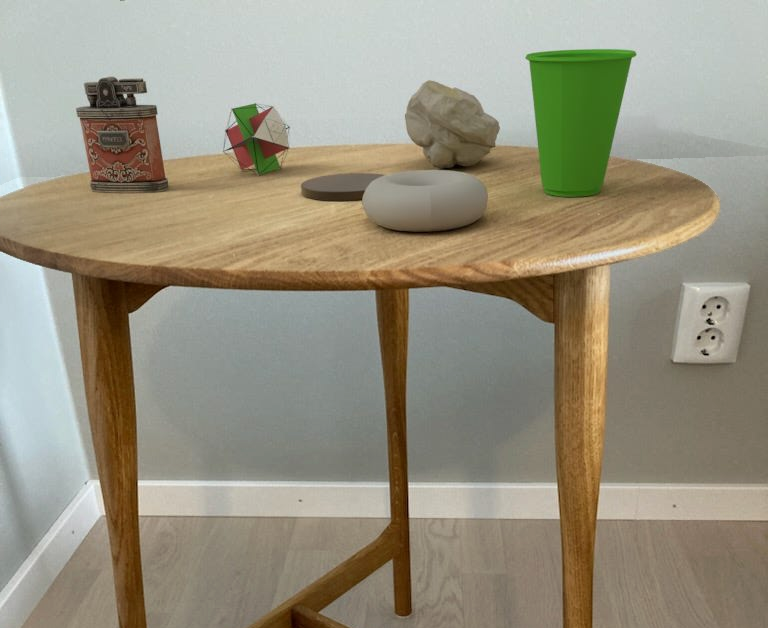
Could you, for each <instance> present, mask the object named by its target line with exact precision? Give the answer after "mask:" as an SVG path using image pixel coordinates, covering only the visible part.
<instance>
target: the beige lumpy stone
mask: <svg viewBox="0 0 768 628" xmlns="http://www.w3.org/2000/svg"><path fill="white" fill-rule="evenodd" d="M405 112H406V113H405V114H404V120H405V129H406V132H407V135H408V138H410V140H411V142H412V143H414V144H415V145H416V146H418V147H421V148H422V154H423V156H424V157H425V159H428V161H429V162H430V164H431V165H432V166H434V167H437V168H439V169H444V168H446V169H451V168H453V167H454V166H455V165H458V166H461V167H471V166H474V165H476V164H478V163H479V162H480V161H481V160H483V158H484V157H486V156H487V155H489V154H490V153H491V150H492V149H494V148H496V146H497V145H496V140H497V138H498V134H499V132H500V129H501V127H500V122H499V121H498V120H497V119H496V118H495V117H494V116H492V115H490V114H488V113H487V112H485V110H484V108H483V105H482V104H481V102H480V100H479V99H478V98H477V97H476V96H475V95H474V94H471V93H469V92H467V91H465V90H462V89H460V88H459V87H453V88H452V87H449V86H448V85H445V84H442V83H440V82H439V81H438V82H437V81H435V80H431V79H430V80H427V81H425V82H423V83H422V84H421V85H420V86H419V88H418V90H417V91H416V92H415V93H413V94H412V95H411V97H410V99H409V100H408V103H407V105H406V111H405Z"/></svg>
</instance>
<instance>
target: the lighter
mask: <svg viewBox="0 0 768 628" xmlns="http://www.w3.org/2000/svg"><path fill="white" fill-rule="evenodd" d="M83 87H84V88H83V89H84V93H85V95H86V98H87V101H88V103H89V105H87V106H86V105H84V106H79V107H75V111H76V116H77V118H78V119H79V122H80V127H81V131H82V136H83V142H84V143H83V144H84V148H85V153H86V158H87V164H88V169H89V175H90V180H89V183H90V188H91V191H92V192H98V193H99V192H100V193H121V194H122V193H157V192H164V191H167V190H169V189H170V186H169V180H168V178H167V177H166V171H165V165H164V158H163V153H162V146H161V138H160V133H159V126H158V119H157V115H158V114H159V113H158V107H157V105H156V104H137V98H136V96H135V95H142V94H143V95H144V94H147V93H148V88H147V82H146V80H144V78H141V77H140V78H120V79H117V77H116V76H107V77H102V78H99V80H98V81H89V82H88V81H87V82H83ZM125 95H126V97H125Z"/></svg>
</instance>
